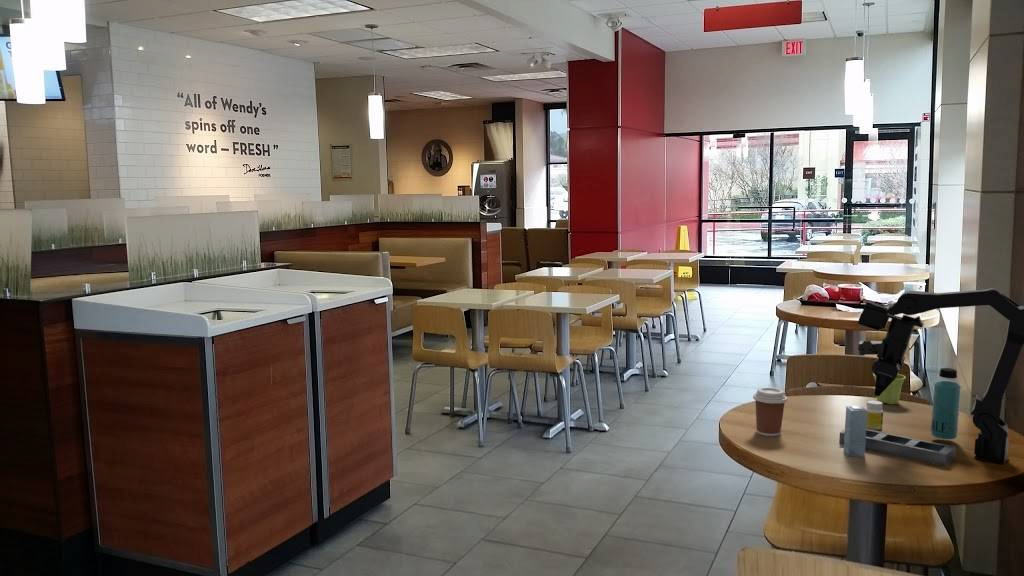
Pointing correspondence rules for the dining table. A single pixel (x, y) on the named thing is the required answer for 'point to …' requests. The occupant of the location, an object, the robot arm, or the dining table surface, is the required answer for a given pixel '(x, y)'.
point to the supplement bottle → (874, 415)
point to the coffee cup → (769, 410)
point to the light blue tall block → (855, 431)
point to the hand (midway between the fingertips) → (878, 391)
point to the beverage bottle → (945, 406)
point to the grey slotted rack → (907, 447)
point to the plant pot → (892, 391)
